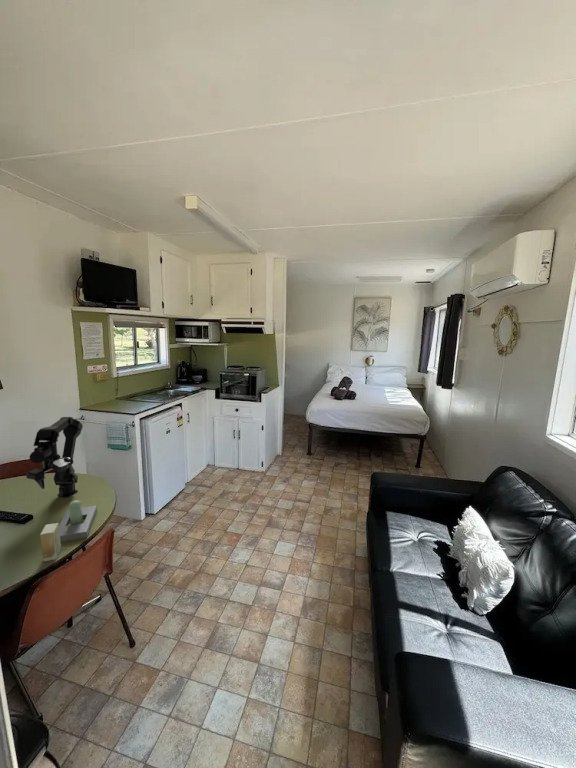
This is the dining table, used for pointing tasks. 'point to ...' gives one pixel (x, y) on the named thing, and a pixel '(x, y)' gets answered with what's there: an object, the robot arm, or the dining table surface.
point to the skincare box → (50, 542)
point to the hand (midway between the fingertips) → (52, 483)
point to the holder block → (77, 525)
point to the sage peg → (75, 512)
